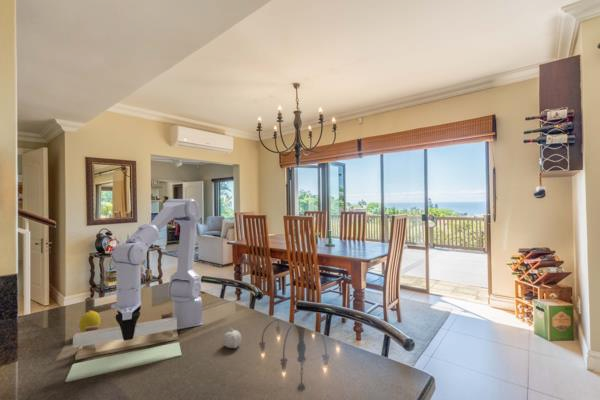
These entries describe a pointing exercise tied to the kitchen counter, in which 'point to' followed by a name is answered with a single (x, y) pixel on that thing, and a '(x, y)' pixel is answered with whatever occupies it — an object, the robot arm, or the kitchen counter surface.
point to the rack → (125, 342)
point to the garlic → (232, 338)
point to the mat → (123, 361)
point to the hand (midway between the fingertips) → (128, 336)
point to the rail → (116, 333)
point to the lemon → (89, 320)
